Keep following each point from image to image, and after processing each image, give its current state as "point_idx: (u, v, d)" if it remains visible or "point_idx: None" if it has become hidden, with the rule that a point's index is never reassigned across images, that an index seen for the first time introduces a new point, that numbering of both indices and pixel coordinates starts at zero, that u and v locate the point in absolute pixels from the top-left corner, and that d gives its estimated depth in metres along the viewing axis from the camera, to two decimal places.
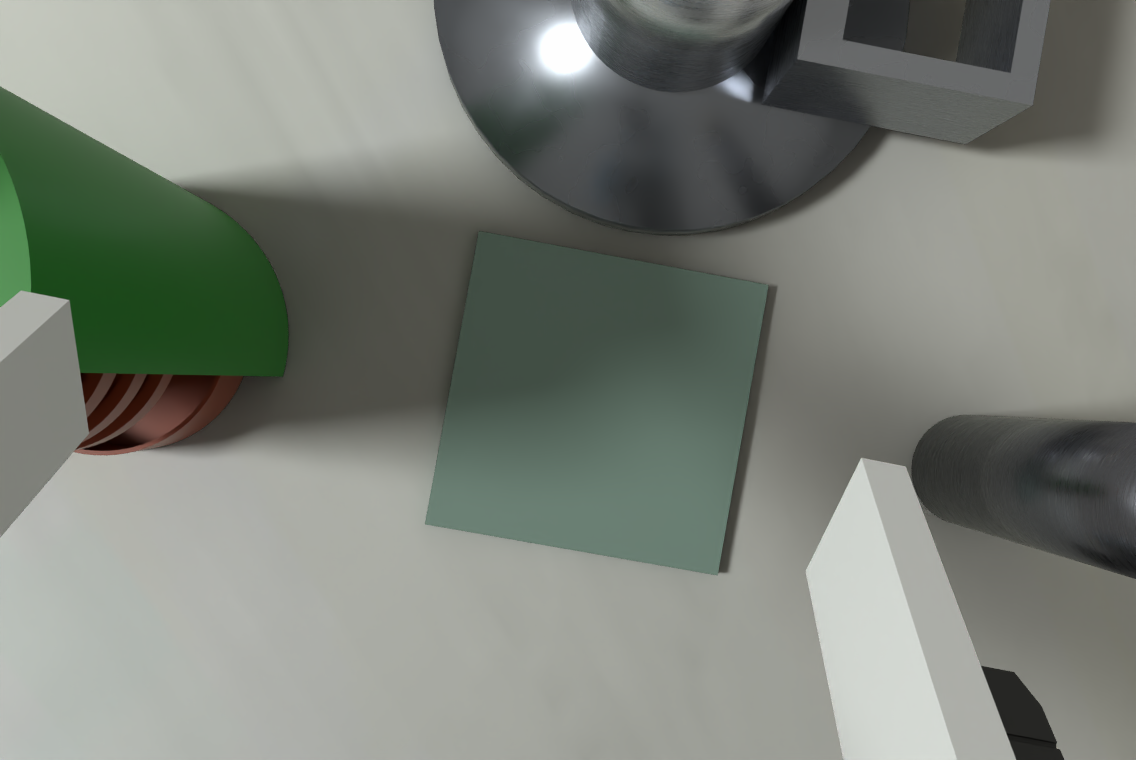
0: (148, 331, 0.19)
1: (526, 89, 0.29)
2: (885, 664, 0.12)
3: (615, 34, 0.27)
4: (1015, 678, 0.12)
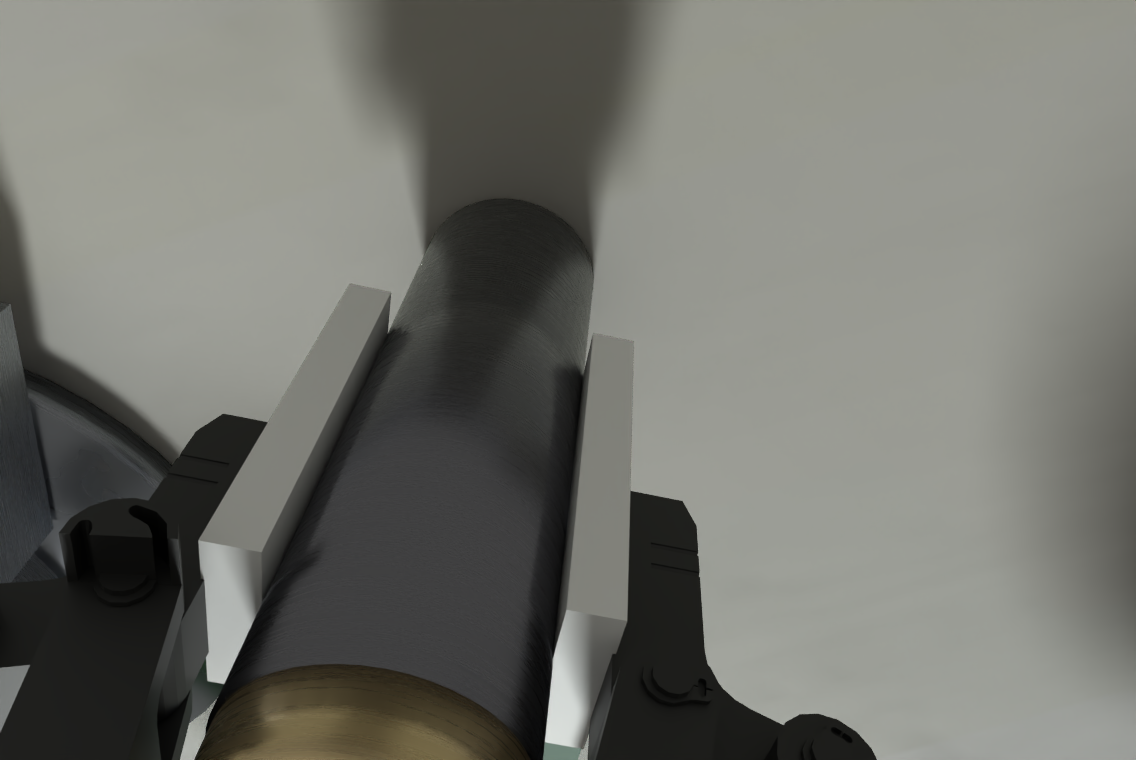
0: None
1: None
2: (570, 495, 0.14)
3: None
4: (683, 507, 0.14)
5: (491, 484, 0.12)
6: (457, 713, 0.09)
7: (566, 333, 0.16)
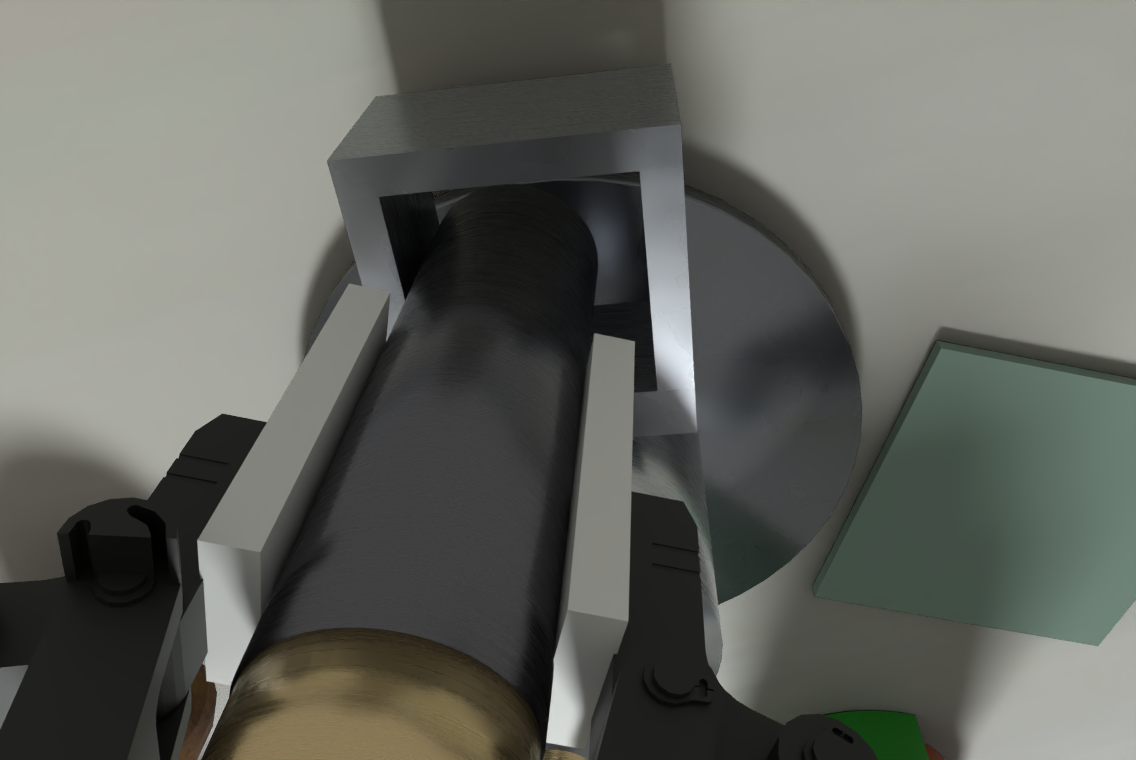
0: None
1: None
2: None
3: None
4: (684, 507, 0.14)
5: (491, 456, 0.12)
6: (457, 669, 0.10)
7: (566, 310, 0.16)
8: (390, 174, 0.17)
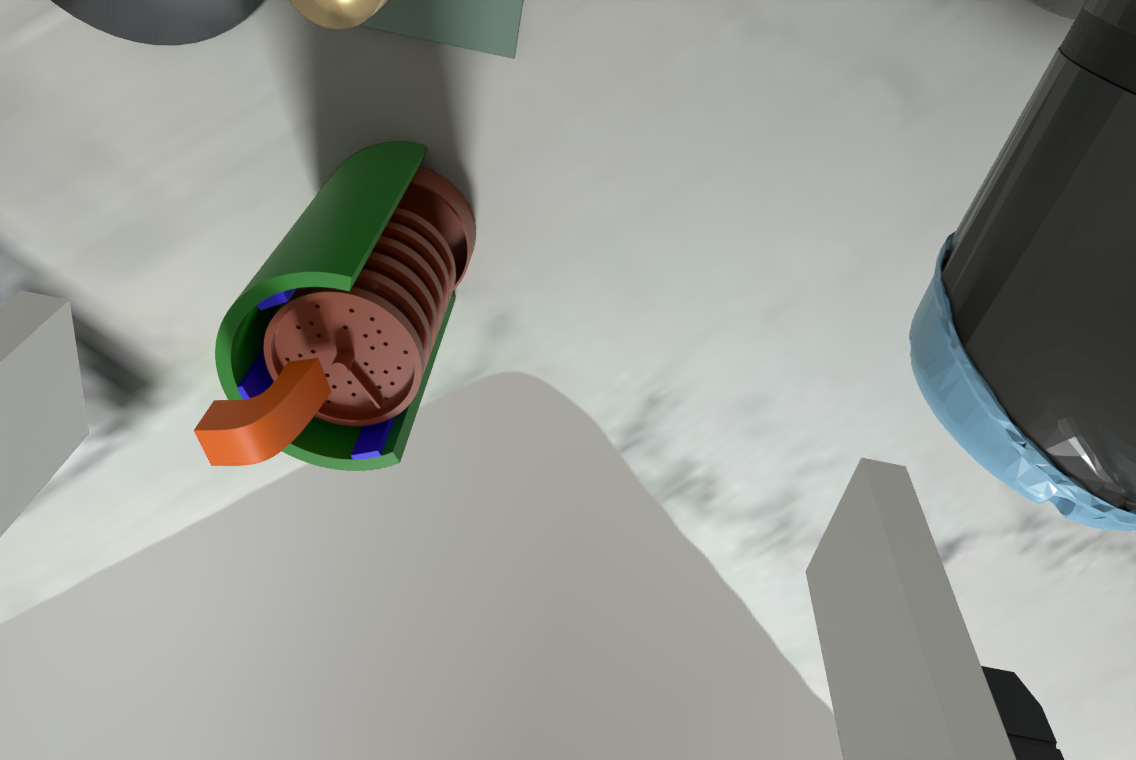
0: (357, 226, 0.39)
1: None
2: (885, 664, 0.12)
3: None
4: (1015, 678, 0.12)
5: None
6: None
7: None
8: None
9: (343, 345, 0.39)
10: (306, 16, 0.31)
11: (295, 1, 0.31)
